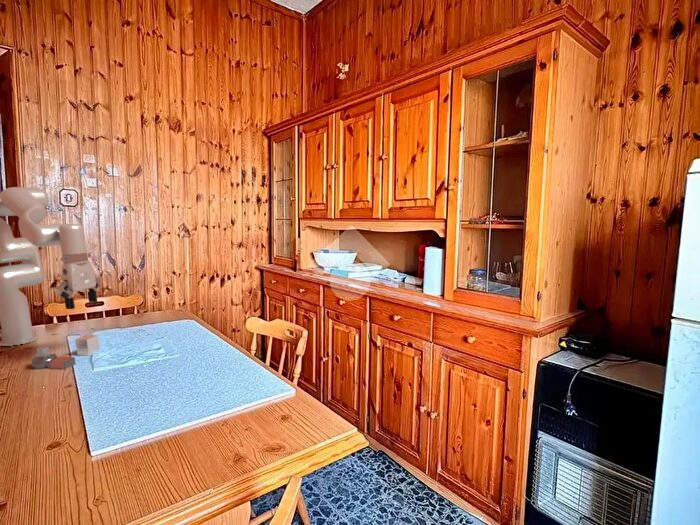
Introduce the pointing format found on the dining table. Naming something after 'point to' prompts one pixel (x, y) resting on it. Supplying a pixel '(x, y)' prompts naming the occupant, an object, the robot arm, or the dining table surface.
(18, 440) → the dining table surface
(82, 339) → the brushed aluminum cube
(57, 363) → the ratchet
